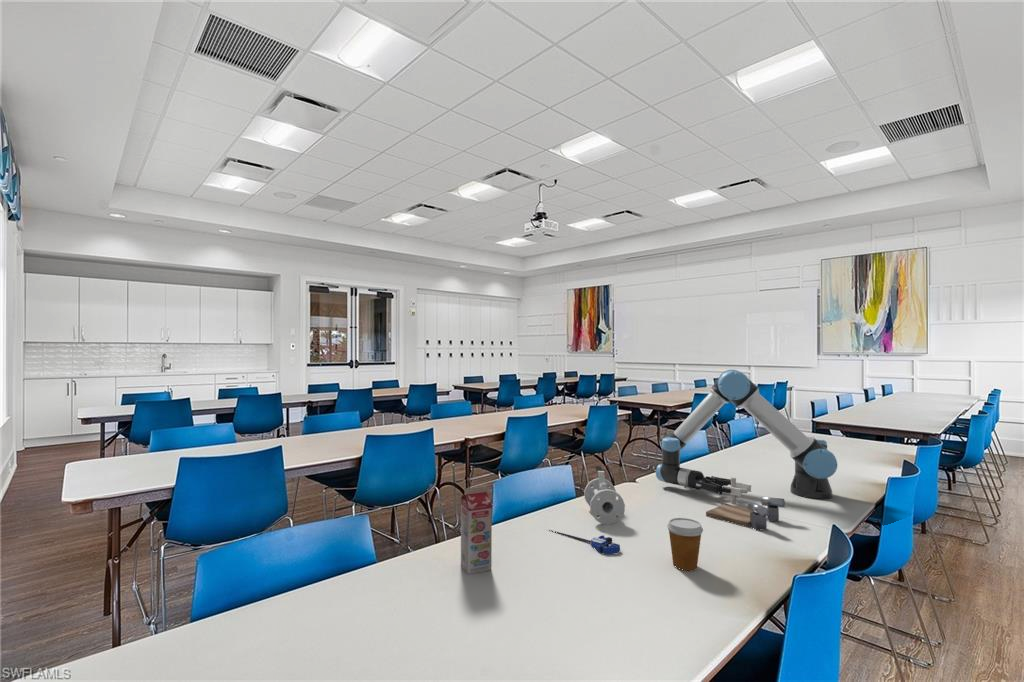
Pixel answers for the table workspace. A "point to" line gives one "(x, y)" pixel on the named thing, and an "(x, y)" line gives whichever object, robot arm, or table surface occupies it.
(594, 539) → the bar clamp
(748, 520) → the mounting pad
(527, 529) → the table surface
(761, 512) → the dark grey piece
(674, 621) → the table surface
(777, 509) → the grey capsule on block
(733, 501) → the pipe connector
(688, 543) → the disposable coffee cup
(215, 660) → the table surface
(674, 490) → the table surface
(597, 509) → the valve
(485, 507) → the juice carton
